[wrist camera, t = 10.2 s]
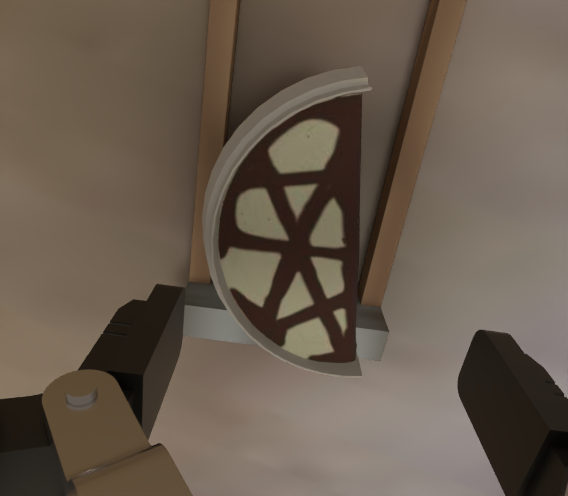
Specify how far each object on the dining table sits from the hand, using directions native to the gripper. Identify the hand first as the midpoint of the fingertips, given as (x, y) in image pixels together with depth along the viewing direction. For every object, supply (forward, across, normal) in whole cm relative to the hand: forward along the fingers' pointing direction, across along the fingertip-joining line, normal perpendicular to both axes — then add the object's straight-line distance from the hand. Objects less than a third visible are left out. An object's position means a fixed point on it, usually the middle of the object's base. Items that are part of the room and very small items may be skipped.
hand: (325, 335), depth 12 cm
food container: (+14, +2, 0) cm, 15 cm away
